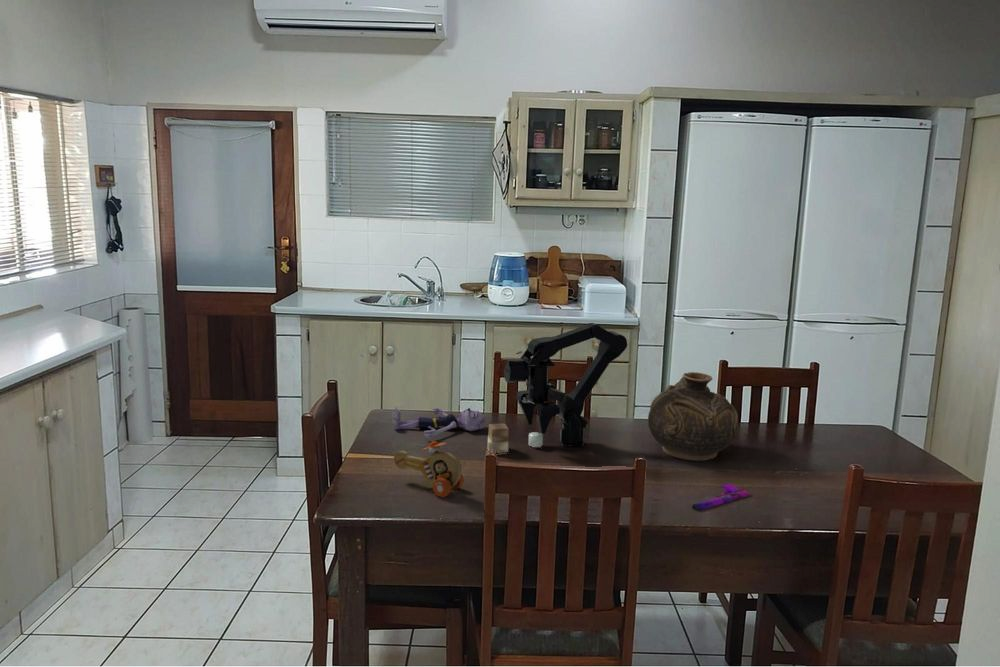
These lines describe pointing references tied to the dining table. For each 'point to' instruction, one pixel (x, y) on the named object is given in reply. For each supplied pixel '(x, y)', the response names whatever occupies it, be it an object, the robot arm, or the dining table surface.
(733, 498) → the handgun
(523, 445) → the dining table surface
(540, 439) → the grey rounded cylinder
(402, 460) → the toy helicopter
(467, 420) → the toy
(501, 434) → the top block
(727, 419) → the vessel
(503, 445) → the base block
